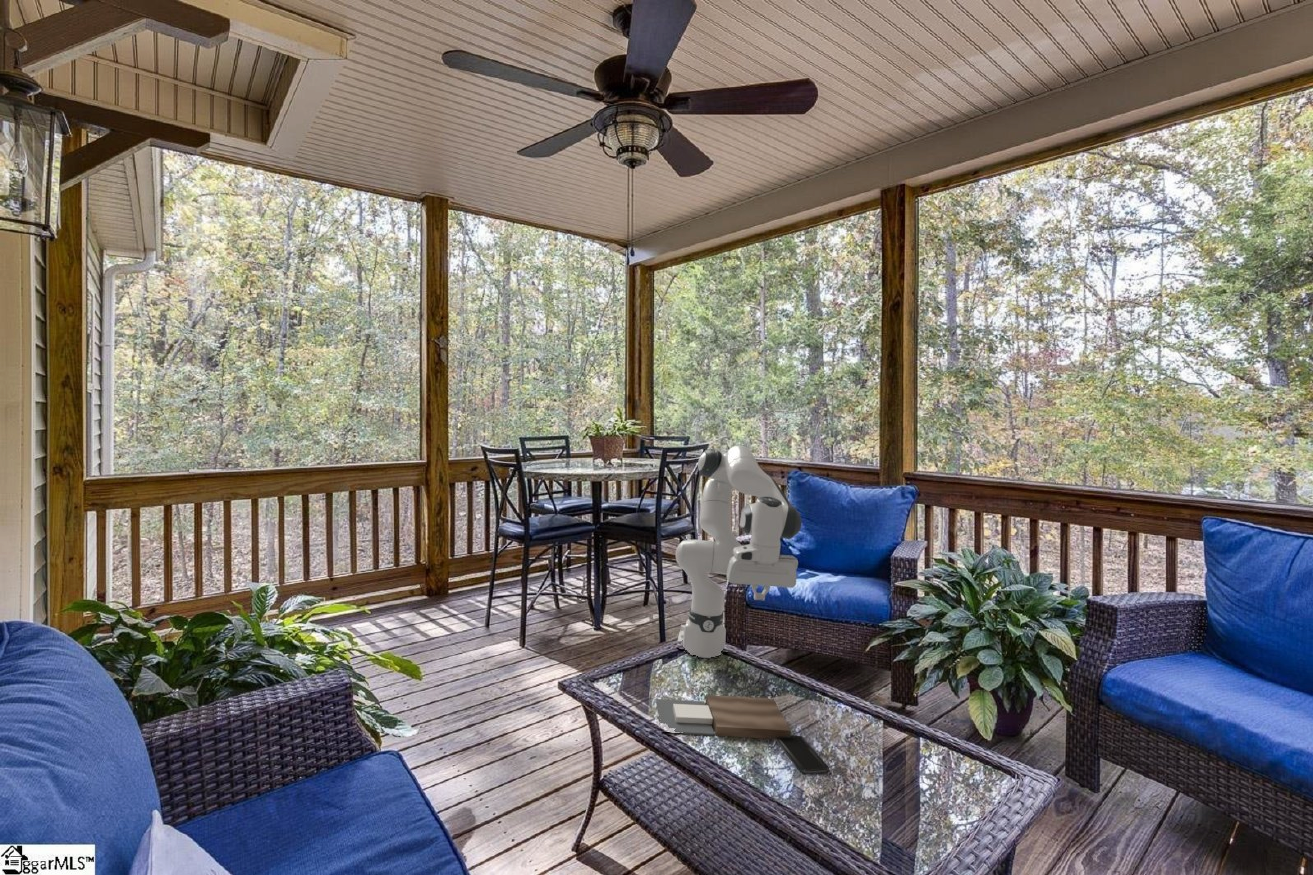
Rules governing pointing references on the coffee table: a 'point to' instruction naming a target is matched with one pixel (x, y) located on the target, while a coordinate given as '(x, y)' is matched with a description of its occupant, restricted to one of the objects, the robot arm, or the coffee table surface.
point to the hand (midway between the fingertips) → (759, 599)
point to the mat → (668, 717)
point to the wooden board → (747, 717)
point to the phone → (802, 755)
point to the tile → (692, 713)
